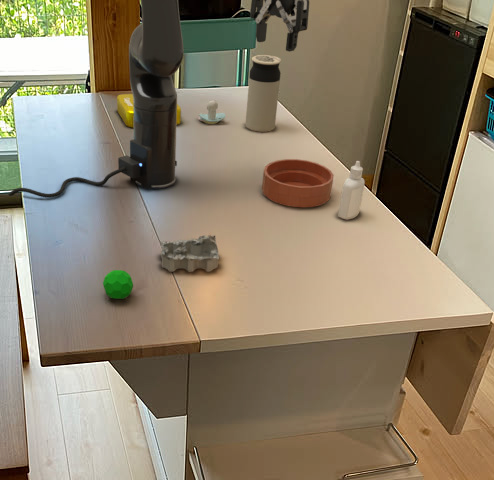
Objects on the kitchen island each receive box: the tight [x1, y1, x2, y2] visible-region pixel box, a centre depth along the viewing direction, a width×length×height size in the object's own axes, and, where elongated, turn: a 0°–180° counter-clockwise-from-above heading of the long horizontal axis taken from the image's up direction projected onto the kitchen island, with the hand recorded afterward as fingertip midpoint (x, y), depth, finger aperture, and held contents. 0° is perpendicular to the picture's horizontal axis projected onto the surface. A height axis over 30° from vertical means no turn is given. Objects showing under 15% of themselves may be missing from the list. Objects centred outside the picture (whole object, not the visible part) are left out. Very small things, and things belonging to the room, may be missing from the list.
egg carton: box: [160, 234, 220, 273], centre depth 130 cm, size 11×8×4 cm
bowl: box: [261, 158, 335, 208], centre depth 157 cm, size 15×15×5 cm
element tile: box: [116, 93, 182, 129], centre depth 192 cm, size 15×15×5 cm
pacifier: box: [198, 99, 226, 125], centre depth 192 cm, size 7×6×6 cm
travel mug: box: [244, 54, 282, 133], centre depth 187 cm, size 8×8×18 cm
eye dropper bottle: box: [337, 160, 366, 220], centre depth 147 cm, size 4×6×12 cm
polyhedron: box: [102, 269, 134, 300], centre depth 119 cm, size 5×5×5 cm
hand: (275, 46), depth 152 cm, fingers open, 8 cm apart
